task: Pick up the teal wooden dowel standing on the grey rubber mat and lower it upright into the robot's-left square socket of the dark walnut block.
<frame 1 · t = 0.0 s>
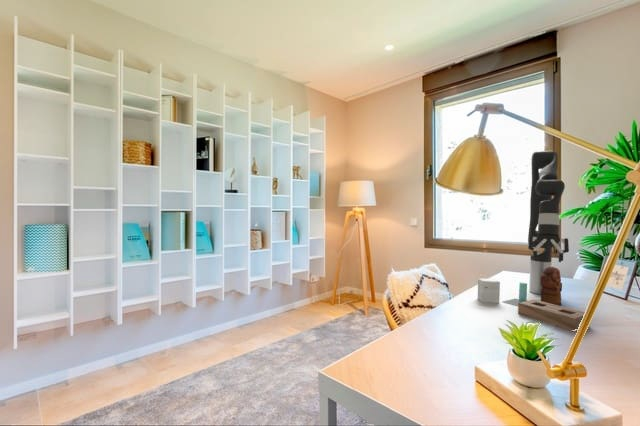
hand: (547, 261, 137), 22 cm above the table, tool pointing down, fingers open, 8 cm apart
wooden figurine: (551, 305, 147), on the table
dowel: (522, 304, 145), resting on mat
socket block: (551, 320, 127), on the table
small box: (488, 301, 151), on the table
mat: (521, 304, 147), on the table
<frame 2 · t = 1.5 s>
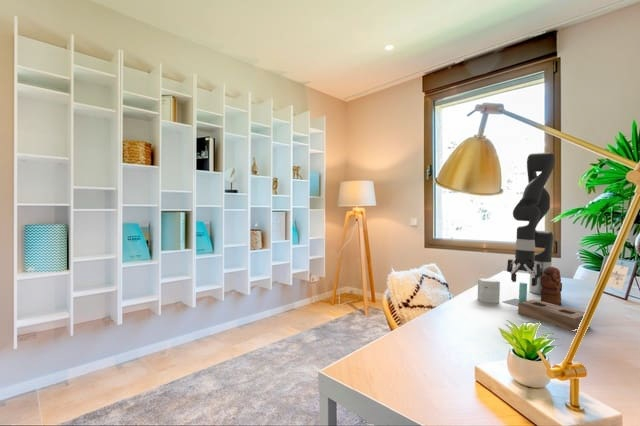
hand: (523, 283, 145), 10 cm above the table, tool pointing down, fingers open, 8 cm apart
nothing on the table moved.
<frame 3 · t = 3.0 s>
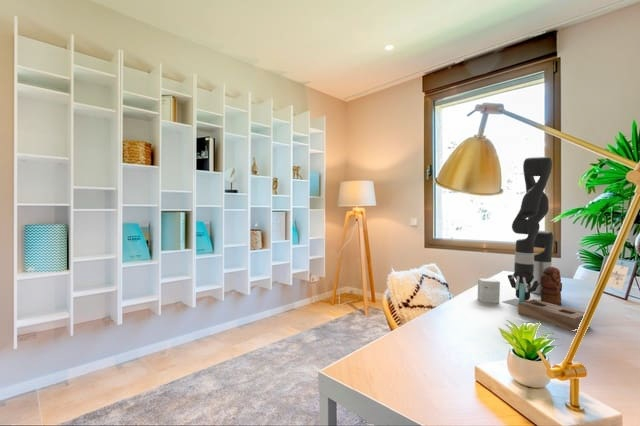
hand: (522, 298, 145), 3 cm above the table, tool pointing down, fingers closed on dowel, 3 cm apart
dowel: (522, 304, 145), resting on mat, touching gripper
everything else where it was.
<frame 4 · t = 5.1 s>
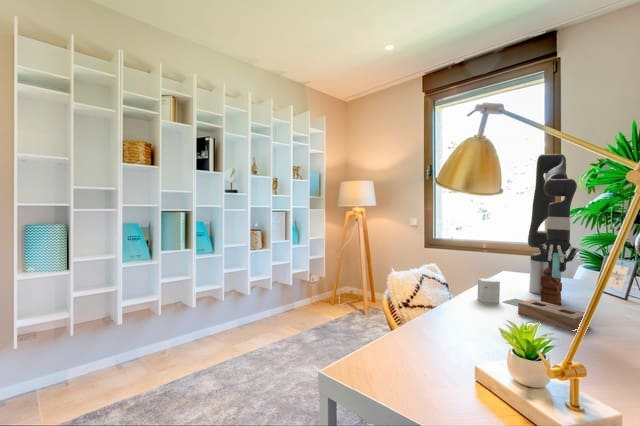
hand: (556, 270, 127), 20 cm above the table, tool pointing down, fingers closed on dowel, 3 cm apart
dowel: (556, 277, 127), point 18 cm above the table, touching gripper
everything else where it was.
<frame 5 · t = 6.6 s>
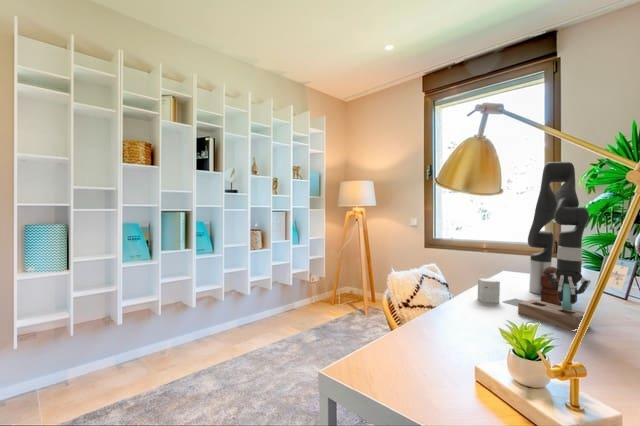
hand: (567, 301, 123), 9 cm above the table, tool pointing down, fingers closed on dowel, 3 cm apart
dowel: (567, 308, 123), point 6 cm above the table, touching gripper
everything else where it was.
when the fingers open (6 cm above the table, at t = 7.5 s): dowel drops 3 cm, resting in socket block.
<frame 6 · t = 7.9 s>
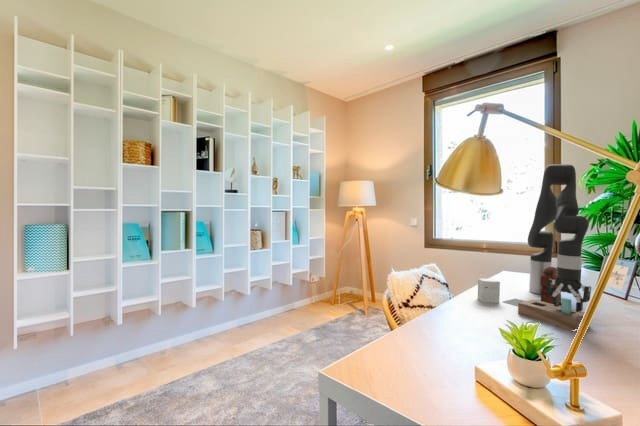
hand: (567, 308, 123), 6 cm above the table, tool pointing down, fingers open, 6 cm apart
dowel: (565, 324, 123), resting in socket block
everything else where it was.
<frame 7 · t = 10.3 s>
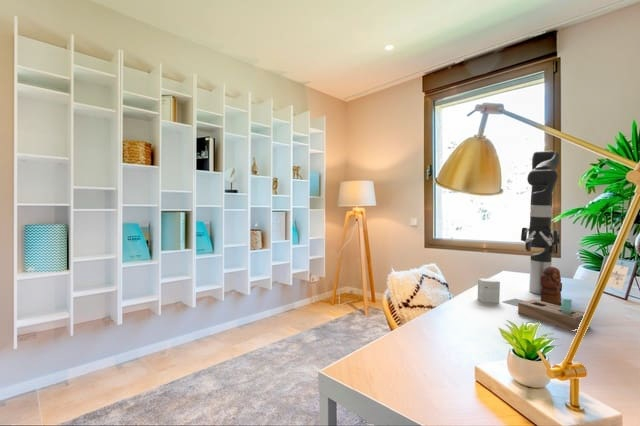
hand: (539, 252, 137), 26 cm above the table, tool pointing down, fingers open, 8 cm apart
nothing on the table moved.
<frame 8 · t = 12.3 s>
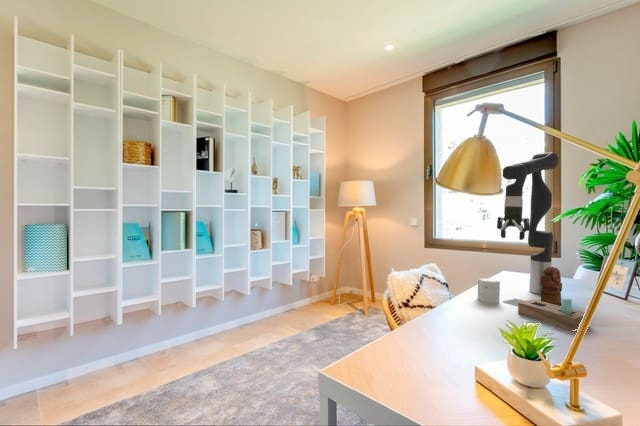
hand: (512, 238, 153), 30 cm above the table, tool pointing down, fingers open, 8 cm apart
nothing on the table moved.
at the end: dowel 0.2 cm from the target spot on the socket block, point 0.0 cm above the socket block's base; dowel tilted 0°; the gripper is holding nothing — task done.
